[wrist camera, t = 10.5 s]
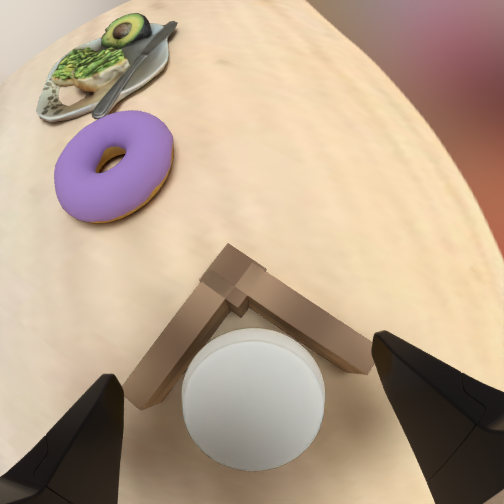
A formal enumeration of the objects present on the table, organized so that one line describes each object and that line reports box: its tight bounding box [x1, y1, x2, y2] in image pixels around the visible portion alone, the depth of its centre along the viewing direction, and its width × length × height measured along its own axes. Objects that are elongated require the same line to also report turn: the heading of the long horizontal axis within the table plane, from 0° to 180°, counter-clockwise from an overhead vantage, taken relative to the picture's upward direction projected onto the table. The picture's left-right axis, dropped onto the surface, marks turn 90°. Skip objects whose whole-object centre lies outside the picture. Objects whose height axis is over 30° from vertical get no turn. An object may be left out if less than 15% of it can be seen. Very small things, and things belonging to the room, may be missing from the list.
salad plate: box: [37, 13, 178, 122], centre depth 25 cm, size 19×18×5 cm
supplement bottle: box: [182, 328, 325, 471], centre depth 12 cm, size 5×5×10 cm
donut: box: [54, 110, 174, 223], centre depth 20 cm, size 10×9×5 cm
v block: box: [122, 243, 374, 410], centre depth 16 cm, size 8×13×4 cm, turn 100°
